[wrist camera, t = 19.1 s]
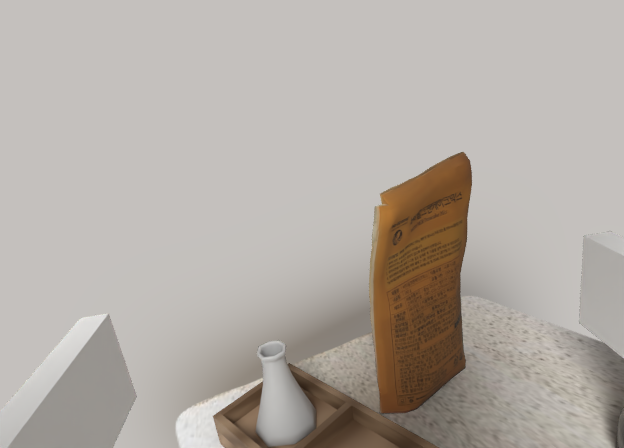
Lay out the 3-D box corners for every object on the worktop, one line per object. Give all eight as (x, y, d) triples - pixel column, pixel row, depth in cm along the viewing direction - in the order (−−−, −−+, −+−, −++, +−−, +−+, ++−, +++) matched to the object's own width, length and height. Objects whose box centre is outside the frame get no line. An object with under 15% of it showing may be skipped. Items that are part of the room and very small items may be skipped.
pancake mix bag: (495, 357, 58) (492, 148, 49) (401, 441, 47) (376, 194, 38) (451, 338, 63) (441, 147, 54) (358, 410, 52) (327, 187, 43)
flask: (307, 393, 54) (294, 323, 50) (326, 434, 47) (313, 356, 44) (250, 412, 52) (233, 341, 49) (262, 458, 45) (243, 379, 42)
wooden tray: (220, 443, 51) (212, 416, 49) (294, 388, 58) (289, 363, 56) (369, 583, 34) (364, 547, 33) (445, 482, 42) (443, 450, 40)
